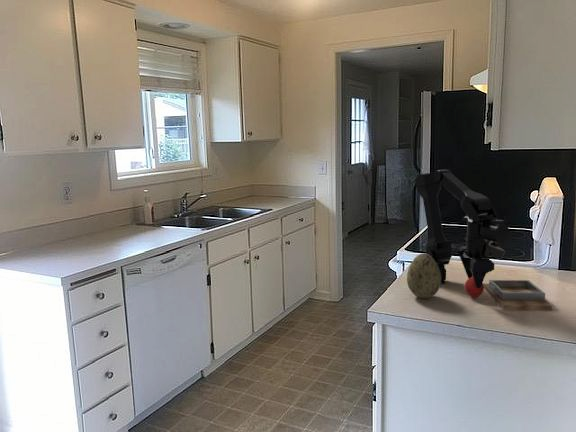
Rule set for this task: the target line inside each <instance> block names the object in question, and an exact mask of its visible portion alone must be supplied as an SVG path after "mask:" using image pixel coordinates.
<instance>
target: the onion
mask: <svg viewBox="0 0 576 432" xmlns="http://www.w3.org/2000/svg"><path fill="white" fill-rule="evenodd" d="M483 283H484V282H482V285H481V287H480V288H476V285H475V282H474V279H473V276H472V277H471V278H467V280H465V283H464V291H465V292H466V294H467V295H469V296H470V297H471V299H476V298H479V297H480V296H481V295H482V294H483V292H484V290H485V289H484V285H483Z"/></svg>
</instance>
